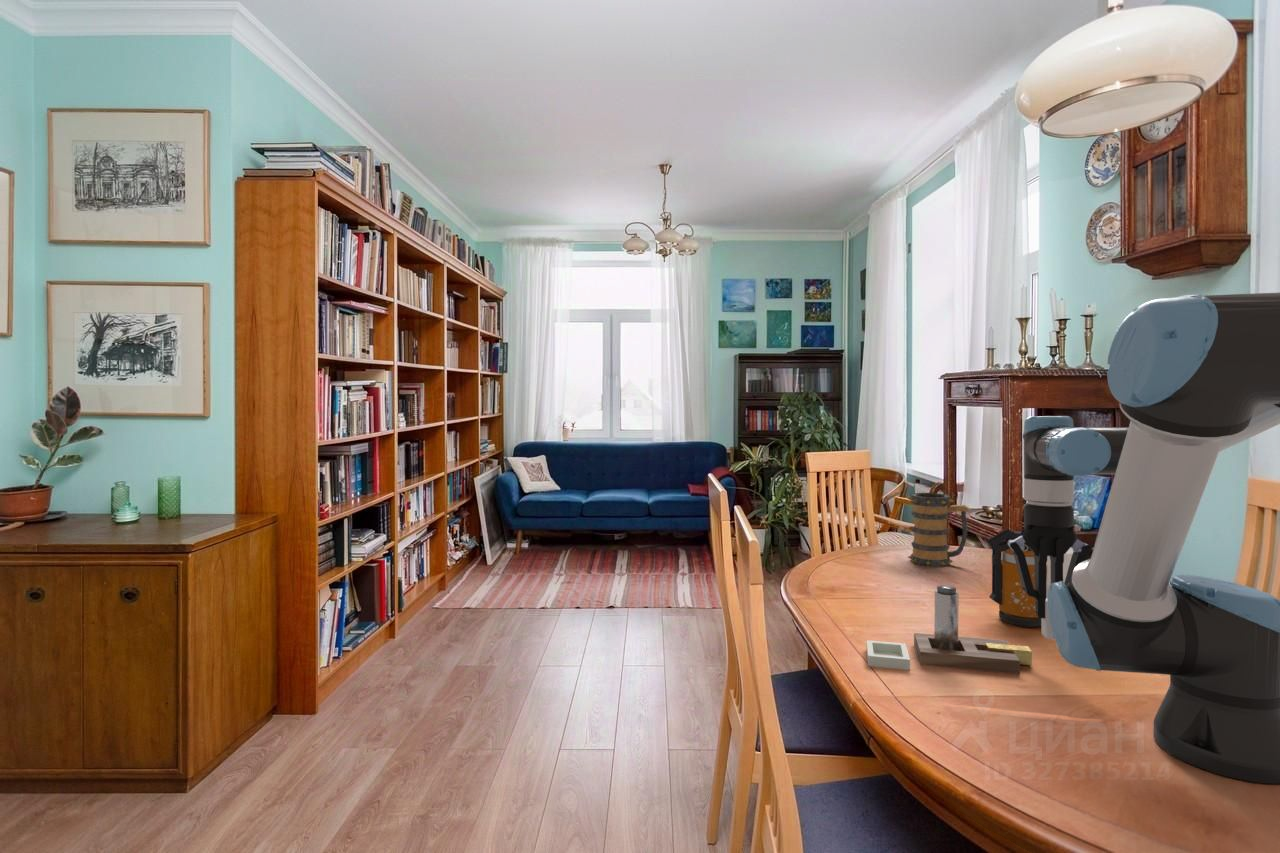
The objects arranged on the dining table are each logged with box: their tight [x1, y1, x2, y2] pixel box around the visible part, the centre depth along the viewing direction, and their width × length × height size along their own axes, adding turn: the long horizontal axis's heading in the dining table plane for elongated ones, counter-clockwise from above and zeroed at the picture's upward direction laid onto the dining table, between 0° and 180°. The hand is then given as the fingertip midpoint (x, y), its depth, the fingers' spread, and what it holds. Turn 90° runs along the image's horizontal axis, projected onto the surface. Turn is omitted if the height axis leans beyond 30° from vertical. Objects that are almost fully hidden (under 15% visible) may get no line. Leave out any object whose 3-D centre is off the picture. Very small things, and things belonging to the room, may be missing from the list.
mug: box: [906, 492, 972, 568], centre depth 194 cm, size 13×17×20 cm
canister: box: [988, 528, 1047, 628], centre depth 143 cm, size 9×11×20 cm
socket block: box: [913, 632, 1021, 675], centre depth 122 cm, size 10×16×3 cm, turn 73°
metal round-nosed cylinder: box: [933, 584, 959, 651], centre depth 122 cm, size 4×4×13 cm
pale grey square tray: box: [866, 639, 911, 671], centre depth 122 cm, size 8×7×2 cm
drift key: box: [985, 643, 1033, 666], centre depth 120 cm, size 2×7×2 cm, turn 74°
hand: (1048, 636), depth 117 cm, fingers closed
